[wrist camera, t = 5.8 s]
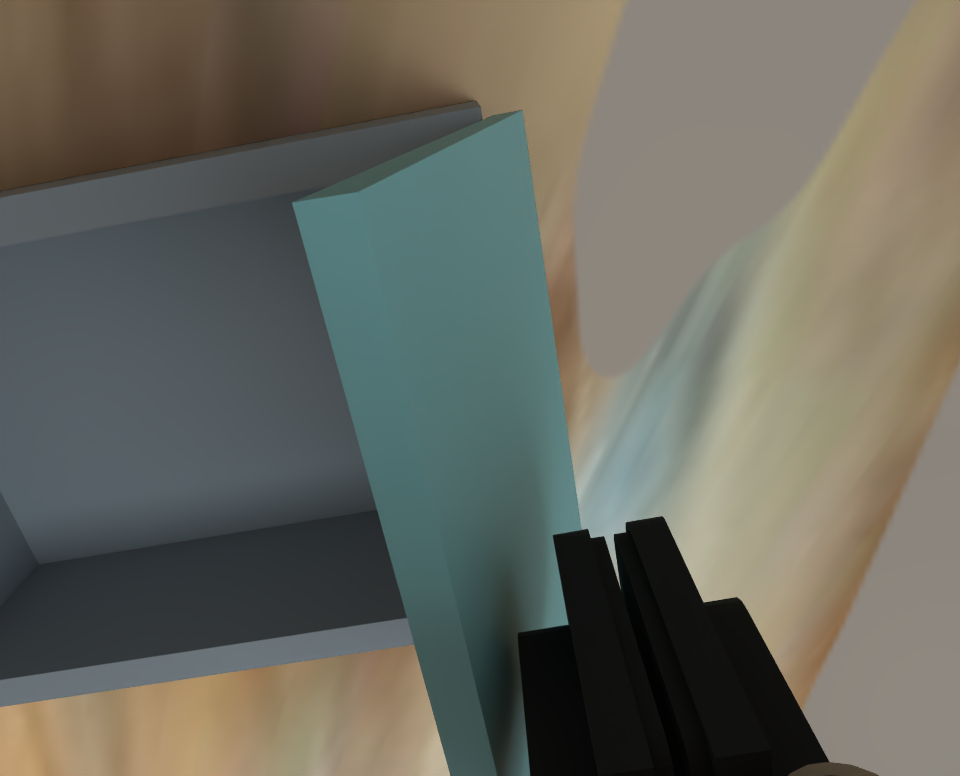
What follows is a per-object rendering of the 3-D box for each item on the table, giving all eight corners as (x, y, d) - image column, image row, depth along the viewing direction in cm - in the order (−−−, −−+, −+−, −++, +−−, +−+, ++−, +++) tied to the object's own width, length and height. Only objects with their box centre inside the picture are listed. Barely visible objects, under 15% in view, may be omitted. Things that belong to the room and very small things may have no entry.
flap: (291, 203, 6) (358, 192, 6) (493, 115, 14) (522, 110, 14) (528, 1057, 11) (566, 1063, 11) (573, 624, 20) (595, 624, 20)
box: (-147, 219, 22) (-399, 273, 16) (476, 100, 21) (480, 106, 15) (39, 572, 28) (-91, 720, 21) (540, 492, 27) (564, 621, 20)
